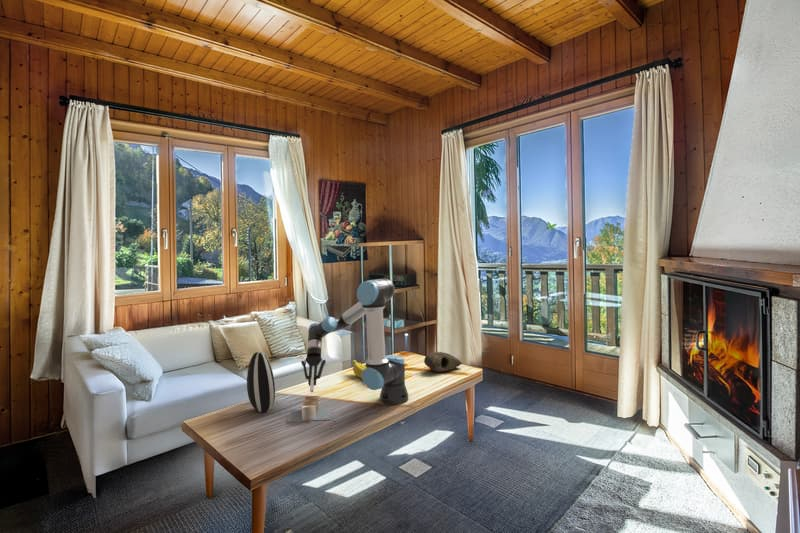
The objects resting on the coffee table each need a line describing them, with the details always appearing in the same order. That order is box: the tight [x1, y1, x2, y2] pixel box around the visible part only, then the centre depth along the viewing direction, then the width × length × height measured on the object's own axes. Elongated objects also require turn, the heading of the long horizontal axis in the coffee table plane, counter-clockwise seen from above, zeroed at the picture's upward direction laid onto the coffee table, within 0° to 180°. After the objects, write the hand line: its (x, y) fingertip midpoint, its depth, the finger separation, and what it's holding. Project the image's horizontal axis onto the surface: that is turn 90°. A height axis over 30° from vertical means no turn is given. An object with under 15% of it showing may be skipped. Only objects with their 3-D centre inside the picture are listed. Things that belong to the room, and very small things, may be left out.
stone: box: [423, 351, 463, 373], centre depth 268 cm, size 25×12×15 cm
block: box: [301, 395, 319, 420], centre depth 202 cm, size 6×6×14 cm
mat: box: [286, 407, 333, 423], centre depth 201 cm, size 20×14×1 cm
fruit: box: [351, 359, 366, 380], centre depth 253 cm, size 7×30×9 cm, turn 41°
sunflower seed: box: [246, 351, 276, 413], centre depth 206 cm, size 19×10×30 cm, turn 52°
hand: (311, 391), depth 209 cm, fingers closed
